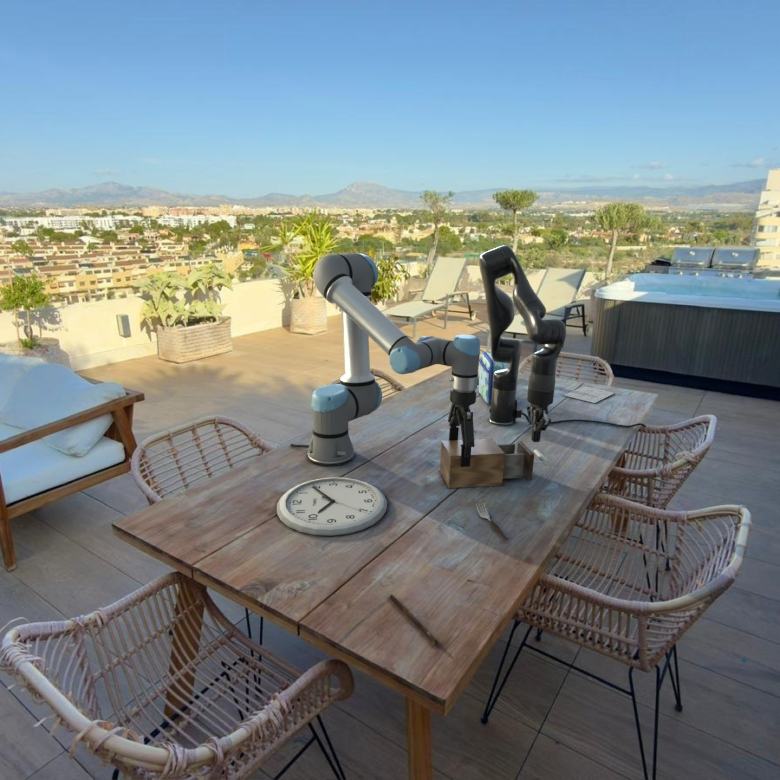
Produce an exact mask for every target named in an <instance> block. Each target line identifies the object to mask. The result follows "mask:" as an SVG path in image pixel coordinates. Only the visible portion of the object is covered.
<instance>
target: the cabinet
mask: <svg viewBox="0 0 780 780" xmlns="http://www.w3.org/2000/svg"><path fill="white" fill-rule="evenodd" d="M440 442H441V443H440V458H439V459H440V461H439V472H440V474H441V477H442V478H443V480H444V482H445V484H446V486H447V488H448V489H456V488H457V489H459V488H477V487H496V486H503V480H504V479H503V470H504V459H505V453H504V452H503V451H502V449H501V448H500V447H499V446H498V445H497V444H498V443H497V442H496V440H494V439H493V438H477V439H475V438H474V444H475V446H474V447H471V459H470V467H461V466H460V461H461V444H463V441H462V439H458V440H451V441H449V440H441V441H440ZM468 443H469V442H468Z"/></svg>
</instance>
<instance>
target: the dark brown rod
mask: <svg viewBox="0 0 780 780" xmlns="http://www.w3.org/2000/svg"><path fill="white" fill-rule="evenodd" d="M389 599H390V600H391V601H392V603H394V605H396V607H398V609H399V610H400V611H401V612H402V613H403V614H404V615H405V616H406V617H407V618H408V619H409V620H410V621H411V622H412V623H413V624H414V625H415V627H417V628H418V630H420V631H421V633H423V635H424V636H425V637H426V638H427V639H428V640H429V641H430V642H431V643H432V644H433V645H434V646H437V644H438V640H437V639H436V638H435V637H434V635H433V634H431V633H430V632H429V630H428V629H427V628H426V627H425V626H424V625H423V624H421V622H420V621H419V620H418V619H417V618H416V617H415V616H414V615H413V614H412V613H411V612H410V611H409V610H408V609H407V608H406V607H405V606H404V605H403V604H402V603H401V602H400V601H399V599H397V598H396V596H394V595H393V594H392V593H391V594H390V595H389Z"/></svg>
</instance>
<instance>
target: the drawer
mask: <svg viewBox="0 0 780 780" xmlns="http://www.w3.org/2000/svg"><path fill="white" fill-rule="evenodd" d="M496 444H497V445H498V446H499V447H500V448H501V449H502V451H503V452H504V453H505V459H504V470H503V480H505V479H523V476H524V477H525V478H526V479H527V480H528V481H531V480H532V479H533V471H534V465H544V466H549V465H550V460H549V459H548V458H547V457H546V456H545V455H544V454H543V453H542V452H541V451H540V450H539V449H534V450H531V449H530V448H529V447H528V446H527V444H525V443H524V442H523V441H522V440H518V441H517V449H516V444H515V443H496ZM515 449H516V450H515ZM515 451H516V453H515ZM535 457H537V459H538V460H537V461H535Z"/></svg>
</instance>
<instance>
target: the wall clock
mask: <svg viewBox="0 0 780 780" xmlns="http://www.w3.org/2000/svg"><path fill="white" fill-rule="evenodd" d="M387 509H388V500H387V498H386V496H385V494H384V493H383V492H382V491H381V490H380V489H379V488H377V487H376V486H374V485H372V484H371V483H369V482H365V481H362V480H359V479H355V478H349V477H338V476H337V477H335V476H333V477H332V476H331V477H322V478H317V479H312V480H307V481H305V482H302V483H299V484H297V485H295V486H293V487H292V488H290V489H288V490H287V491H286V492H285V493H284V494H283V495H281V496H280V498H279V499H278V502H277V503H276V515H277V517H278V518H279V520H280V521H281V522H282V523H283V524H285V525H286V526H287V527H288V528H290V529H293V530H295V531H297V532H299V533H303V534H308V535H312V536H327V537H328V536H329V537H331V536H332V537H333V536H342V535H350V534H352V533H356V532H361V531H363V530H366V529H368V528H369V527H372V526H373V525H375V524H376V523H378V522H379V521H380V520H381V519H382V518H383V517H384V516H385V514H386V512H387Z"/></svg>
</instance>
